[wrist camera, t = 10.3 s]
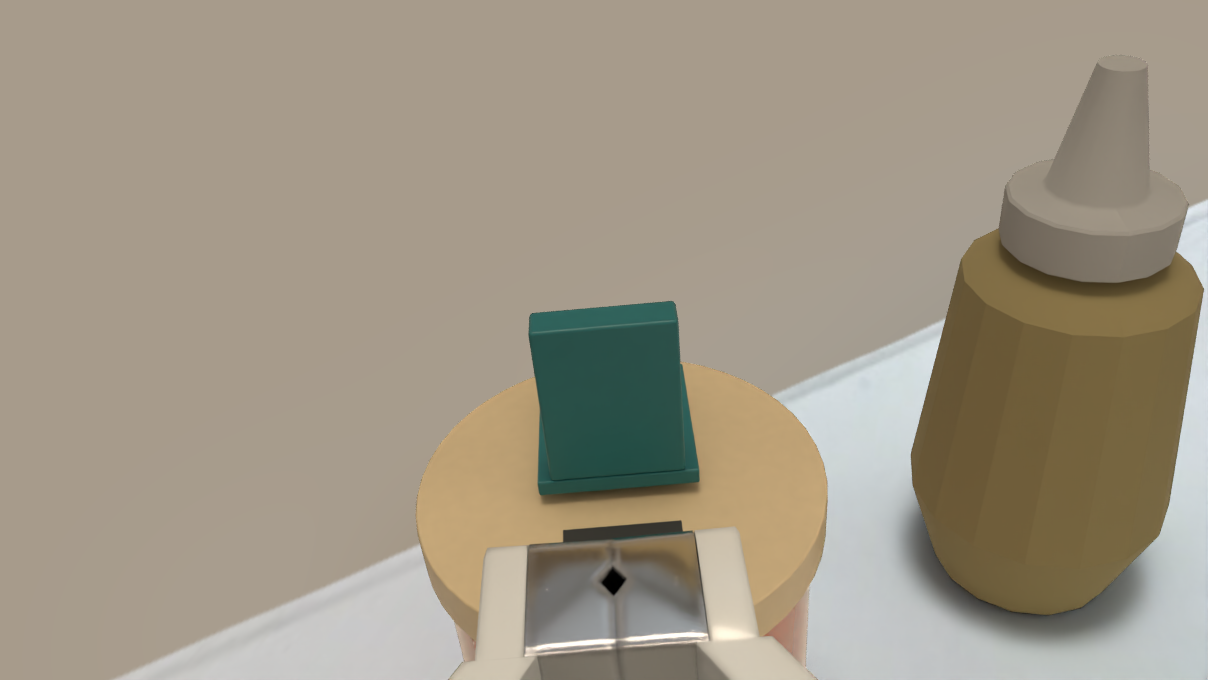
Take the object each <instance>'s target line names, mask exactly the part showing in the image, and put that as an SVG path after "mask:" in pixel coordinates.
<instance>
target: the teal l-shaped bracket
mask: <svg viewBox="0 0 1208 680" xmlns="http://www.w3.org/2000/svg"><path fill="white" fill-rule="evenodd" d="M529 341H530V348H531V354H532V360H533V367H534V374H535V381H536V387H537V394H538V400H539V407H540V416H539V448H538V481H537V484H538V490H539V494H540V495H552V494H564V493H576V492H588V491H600V490H612V489H624V488H636V487H648V486H660V485H671V484H683V483H695V482H699V481H700V472H699V464H698V458H697V452H696V446H695V439H694V433H693V427H692V421H691V414H690V408H689V402H688V396H687V389H686V383H685V377H684V371H683V365H682V364H680V346H679V326H678V317H677V311H676V305H675V303H674V302H673V301H666V302H655V303H644V304H632V305H620V306H609V307H599V308H587V309H574V310H564V311H551V312H540V313H532V314H531V315H530V317H529Z"/></svg>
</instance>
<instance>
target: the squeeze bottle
mask: <svg viewBox="0 0 1208 680" xmlns="http://www.w3.org/2000/svg"><path fill="white" fill-rule="evenodd" d="M1148 112H1149V111H1148V64H1147V63H1146V61H1144V60H1142V59H1140V58H1136V57H1133V56H1125V55H1112V56H1106V57H1103V58H1101V59H1099V60H1098V62H1097V64H1096V66H1095V69H1094V71H1093V73H1092V75H1091V78H1090V80H1089V82H1088V84H1087V87H1086V89H1085V91H1084V93H1083V96H1082V98H1081V100H1080V103H1079V105H1078V107H1077V109H1076V112H1075V114H1074V116H1073V118H1072V121H1071V123H1070V125H1069V127H1068V129H1067V132H1066V134H1065V136H1064V138H1063V141H1062V143H1061V145H1060V147H1059V150H1058V152H1057V154H1056V157H1055V159H1051V160H1045V161H1039V162H1036V163H1034V164H1032V165H1030V166H1027V167H1025V168H1023V169H1021V170H1019V171H1017V172H1015V173H1014V175H1013V176H1012V178H1011V179H1010V180H1009V182H1008V183H1007V184H1006V186H1005V191H1004V198H1003V204H1002V211H1001V217H1000V223H999V228H998V229H996V230H994V231H992V232H990V233H988V234H986V235H984V236H982V237H980V238H978V239H976V240H974V242H973V243H972V245H971V246H970V247H969V249H968V250H967V252H966V253H965V255H964V256H963V257H962V259H961V262H960V266H959V270H958V274H957V277H956V281H955V285H954V289H953V293H952V297H951V301H950V305H949V308H948V312H947V316H946V320H945V324H944V328H943V332H942V335H941V339H940V343H939V347H938V351H937V355H936V359H935V362H934V366H933V370H932V374H931V378H930V382H929V386H928V390H927V393H926V397H925V401H924V405H923V409H922V413H921V417H920V420H919V424H918V428H917V432H916V436H915V440H914V444H913V448H912V451H911V466H912V483H913V488H914V491H915V494H916V497H917V500H918V503H919V506H920V509H921V512H922V515H923V518H924V521H925V524H926V527H927V530H928V533H929V536H930V539H931V542H932V545H933V549H934V552H935V554H936V556H937V557H938V559H939V561H940V562H941V564H942V565H943V567H944V569H945V570H946V572H947V573H948V575H949V576H950V578H951V579H953V580H954V581H955V582H956V583H958V584H959V585H960V586H962V587H963V588H964V589H966V590H967V591H968V592H970V593H971V594H972V595H973V596H975V597H976V598H978V599H980V600H983V601H985V602H988V603H991V604H993V605H996V606H998V607H1001V608H1004V609H1006V610H1009V611H1011V612H1021V613H1031V614H1041V615H1052V614H1056V613H1061V612H1065V611H1070V610H1074V609H1079V608H1081V607H1083V606H1084V605H1085V604H1087V603H1088V602H1089V601H1091V600H1092V599H1093V598H1095V597H1096V596H1097V595H1099V594H1100V593H1101V592H1102V591H1104V590H1105V589H1106V588H1107V587H1108V586H1109V585H1110V584H1111V583H1112V582H1113V581H1114V580H1115V579H1116V578H1117V577H1118V576H1119V575H1120V574H1121V573H1122V572H1123V571H1124V570H1125V569H1126V568H1127V567H1128V566H1129V565H1130V564H1131V563H1132V562H1133V561H1134V560H1135V559H1136V558H1137V557H1138V556H1139V555H1140V554H1141V553H1142V552H1143V551H1144V550H1145V549H1146V548H1147V547H1148V546H1149V545H1150V544H1151V543H1152V542H1153V541H1154V540H1155V539H1156V538H1157V537H1158V536H1159V534H1160V531H1161V528H1162V525H1163V521H1164V518H1165V515H1166V512H1167V509H1168V506H1169V501H1170V495H1171V489H1172V482H1173V476H1174V470H1175V464H1176V458H1177V452H1178V445H1179V439H1180V433H1181V427H1182V421H1183V415H1184V408H1185V402H1186V396H1187V390H1188V384H1189V378H1190V371H1191V365H1192V359H1193V353H1194V347H1195V341H1196V335H1197V328H1198V322H1199V316H1200V310H1201V304H1202V298H1203V291H1204V288H1203V286H1202V284H1201V282H1200V280H1199V278H1198V276H1197V274H1196V272H1195V270H1194V268H1193V266H1192V265H1191V264H1190V263H1189V262H1188V261H1186V260H1185V259H1184V258H1183V257H1182V256H1181V255H1180V254H1179V253H1177V252H1176V250H1177V247H1178V243H1179V239H1180V236H1181V232H1182V228H1183V225H1184V221H1185V217H1186V214H1187V210H1188V206H1189V203H1188V201H1187V199H1186V197H1185V195H1184V194H1183V192H1182V190H1181V188H1180V187H1179V186H1178V185H1177V184H1175V183H1173V182H1172V181H1170V180H1168V179H1167V178H1166V177H1164V176H1163V175H1161V174H1160V173H1158V172H1155V171H1152V170H1150V168H1149V113H1148Z"/></svg>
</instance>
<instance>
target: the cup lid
mask: <svg viewBox="0 0 1208 680" xmlns="http://www.w3.org/2000/svg"><path fill="white" fill-rule="evenodd" d="M680 364H682V365H683V371H684V377H685V383H686V389H687V396H688V402H689V408H690V414H691V421H692V427H693V433H694V439H695V446H696V452H697V458H698V464H699V472H700V481H699V482H695V483H683V484H671V485H660V486H648V487H636V488H624V489H612V490H600V491H588V492H576V493H564V494H552V495H540V494H539V490H538V484H537V481H538V448H539V416H540V407H539V400H538V394H537V387H536V381H535V377H533V378H530V379H528V380H525V381H523V382H521V383H519V384H516V385H514V386H512V387H510V388H508V389H506V390H504V391H502V392H501V393H499V394H497V395H496V396H494V397H493V398H491V399H489V400H487V401H486V402H484V403H483V404H481V405H480V406H479V407H477V408H476V409H475V410H474V411H472V412H471V413H469V414H468V415H467V416H466V417H465V418H464V419H463V420H462V421H461V422H460V423H458V424H457V425H456V426H455V427H454V428H453V429H452V431H451V432H450V433H449V434H448V435H447V436H446V438H445V439H444V440H443V441H442V442H441V443H440V445H439V447H438V448H437V450H436V451H435V453H434V454H433V456H432V458H431V459H430V461H429V463H428V466H427V468H426V470H425V472H424V474H423V477H422V480H421V484H420V488H419V492H418V495H417V504H416V523H417V532H418V537H419V541H420V545H421V549H422V552H423V556H424V560H425V564H426V568H427V571H428V574H429V577H430V581H431V584H432V587H433V589H434V591H435V593H436V595H437V597H438V599H439V601H440V602H441V604H442V606H443V607H444V609H445V610H446V611H447V613H448V614H449V615H450V616H451V618H452V619H453V620H454V622H455V623H456V624H457V625H458V626H459V627H460V628H461V629H462V630H464V631H465V632H466V633H467V634H468V635H469V636H470V637H471V638H472V639H473V640H475V641H476V638H477V626H478V615H479V603H480V592H481V581H482V569H483V558H484V556H485V553H486V550H487V548H491V547H507V546H523V545H530V544H542V543H558V542H574V541H590V540H606V539H611V538H619V537H630V536H640V535H650V534H660V533H670V532H681V531H691V530H693V533H694V531H695V530H703V529H713V528H724V527H734V526H735V527H736V528H737V530H738V531H739V533H740V538H741V543H742V549H743V554H744V559H745V564H746V569H747V574H748V579H749V584H750V590H751V595H752V600H753V605H754V610H755V615H756V620H757V625H758V631H759V636H760V637H763V636H764V635H765V634H767V633H768V632H770V631H771V630H772V629H773V628H774V627H775V626H776V625H777V624H778V623H779V622H780V621H782V620H783V619H784V618H785V617H786V616H787V615H788V614H789V613H790V611H791V610H792V609H793V608H794V606H795V605H796V604H797V603H798V601H799V600H800V599H801V598H802V597H803V595H804V594H805V592H806V590H807V588H808V587H809V585H810V583H811V581H812V580H813V578H814V576H815V574H816V571H817V568H818V565H819V563H820V560H821V557H822V553H823V547H824V541H825V535H826V518H827V501H828V500H827V478H826V473H825V468H824V464H823V461H822V458H821V456H820V454H819V451H818V449H817V446H816V444H815V443H814V441H813V439H812V438H811V436H810V435H809V433H808V431H807V430H806V428H805V427H804V426H803V425H802V424H801V423H800V421H799V420H798V419H797V418H796V417H795V416H794V414H793V413H791V412H790V411H789V410H788V409H787V408H786V407H785V406H783V405H782V404H781V403H780V402H779V401H778V400H776V399H775V398H773V397H772V396H770V395H769V394H767V393H766V392H764V391H763V390H761V389H759V388H757V387H755V386H754V385H752V384H750V383H748V382H746V381H744V380H742V379H739V378H737V377H734V376H732V375H729V374H727V373H724V372H721V371H718V370H715V369H711V368H708V367H704V366H700V365H695V364H690V363H685V362H680Z"/></svg>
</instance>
